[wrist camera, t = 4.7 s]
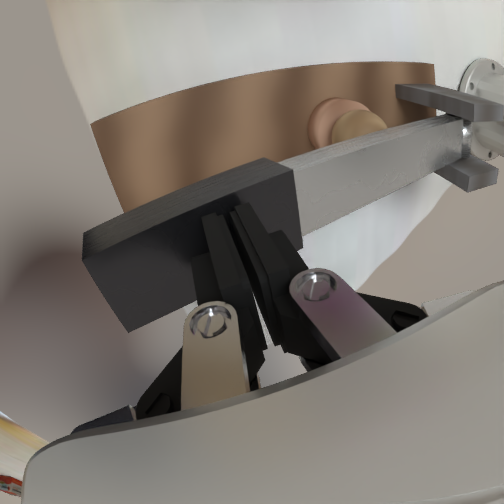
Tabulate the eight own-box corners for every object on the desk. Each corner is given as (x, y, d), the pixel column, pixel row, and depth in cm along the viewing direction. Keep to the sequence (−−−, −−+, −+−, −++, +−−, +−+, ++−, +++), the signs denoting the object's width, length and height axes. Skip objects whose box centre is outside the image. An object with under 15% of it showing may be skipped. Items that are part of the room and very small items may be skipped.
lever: (453, 107, 17) (476, 113, 16) (451, 149, 19) (474, 158, 18) (83, 232, 10) (82, 260, 9) (121, 299, 12) (128, 332, 11)
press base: (422, 62, 20) (509, 80, 12) (425, 158, 26) (498, 202, 18) (95, 121, 18) (40, 159, 10) (139, 234, 24) (127, 322, 16)
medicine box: (11, 481, 68) (10, 495, 61) (-3, 474, 63) (-4, 488, 56) (25, 482, 67) (25, 498, 61) (10, 476, 62) (10, 491, 56)
